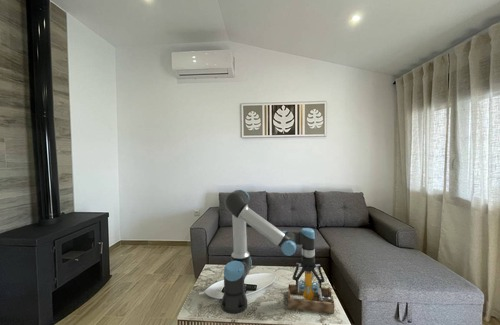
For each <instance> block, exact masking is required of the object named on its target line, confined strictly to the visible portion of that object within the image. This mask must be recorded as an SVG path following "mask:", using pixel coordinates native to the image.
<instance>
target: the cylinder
mask: <svg viewBox="0 0 500 325" xmlns="http://www.w3.org/2000/svg"><path fill="white" fill-rule="evenodd" d="M301 282H302V283H301ZM299 285H300V286H299V290H300V291H303V294H302V295H303V298H304V300H310V301H313V300H314V296H315V295H314V292H315V293H317V292H318V281H313V272H312V271H311V272H309V271H308V272H306V271H305V272H304V280H303V279H299ZM302 285H304V286H302ZM313 286H314V287H313ZM300 287H303V288H304V289H300ZM315 288H317V291H314V290H313V289H315Z"/></svg>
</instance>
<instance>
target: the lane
mask: <svg viewBox="0 0 500 325" xmlns="http://www.w3.org/2000/svg"><path fill="white" fill-rule="evenodd" d="M299 286H300V284H299ZM302 286H304V285H302ZM313 287H314V286H313ZM300 289H304V288H303V287H300ZM313 290H314V291H317V288H315V289H313ZM287 293H288V294H287V296H288V298H287V308H288V309H295V310H303V311H311V312H321V313H329V314H335V300H334V297H333V295H332V289H331V286H328V287H325V286H324V287H323V286H321V293H322V297H329V298H331V300H328V301H329V302H327V301H326V302H325V301H323V302H319V300H318V301H317V300H307V299H301V298H300V299H297V298H291V294H296V295H297V294H298V295H303V291H300V290H299V293H298V286H296V284H292V283H288V292H287ZM314 296H318V292H317V293H315V292H314ZM318 297H319V296H318Z"/></svg>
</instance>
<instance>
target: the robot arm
mask: <svg viewBox="0 0 500 325" xmlns="http://www.w3.org/2000/svg"><path fill="white" fill-rule="evenodd" d="M249 203H250V195H249V193H247V191H246V190H243V189H236V190H234V191H232V192H229V193H228V194H227V195H226V196H225V199H224V207H225V210H227V211H228V212H229V213H230V215H231V216H232V219H231V220H232V221H231V222H232V241H233V242H232V243H233V252H232V253H231V261H230V262H228V263H226V264H225V266H224V268H223V280H224V281H223V289H224V291H223V295H222V298H221V304H220V305H221V306H220V307H221V310H222V311H223V312H225V313H227V314H229V315H230V314H231V315H232V314H233V315H236V314H240V313H242V312H244V311H245V310H247V308H248V298H247V295H246V292H245V279H246V278H247V276H248V274H249V272H250V270H251V269H252V266H253V265H252V262H253V261H252V257H251V255H250V252H249V251H248V242H247V241H248V240H247V238H248V235H247V224H248V225H249V226H251V227H252V228H253V229H254V230H256V231H257V232H258V233H260V234H261V235H263V236H264V237H266V239H268V240H270V242H272V243H273V244H274V245H276V246H277V247H279V248H280V249H281V252H282V253H283V254H284V255H285V256H293V255H294V254H295V253H296V250H297V246H301V262H300V263H299V262H296V263H295V264H296V265H295V266H296V267H295V270H294V272H293V276H292V281H295V285H296V286H298V293H299V285H300V284H299V281H300V278H301V277H302V276H303V274H305V271H306V272H308V271H309V272H312V275H314V276H315V278H316V280H317V283H318V286H317V287H318V295H320V294H319V288H321V287H322V283H325V278H324V275H323V273H322V269H321V264H320V263H318V264H316V252H315V251H316V249H315V248H316V247H315V246H316V240H315V239H316V237H315V236H316V234H315V230H314V229H313V228H311V227H303V228H302V229H301V230H300V231H293V230H280V228H278V227H276V226H275V225H274V224H272V223H271V222H269V221H268V220H266V219H265V218H264V217H262V216H261V215H259V214H258V213H257V212H255V211H254V210H253V209H252V208H250V207H249ZM300 268H301V269H300ZM299 269H300V271H299ZM315 269H317V270H318V273H319V275H318V273H317V272H316V270H315ZM298 272H299V273H298Z"/></svg>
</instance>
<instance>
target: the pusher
mask: <svg viewBox="0 0 500 325" xmlns="http://www.w3.org/2000/svg"><path fill="white" fill-rule="evenodd" d="M319 294H320V295H318V301H319V302H324V300H328V301H329V300H331V298H329V297H327V296H322V293H321V288H319Z"/></svg>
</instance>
